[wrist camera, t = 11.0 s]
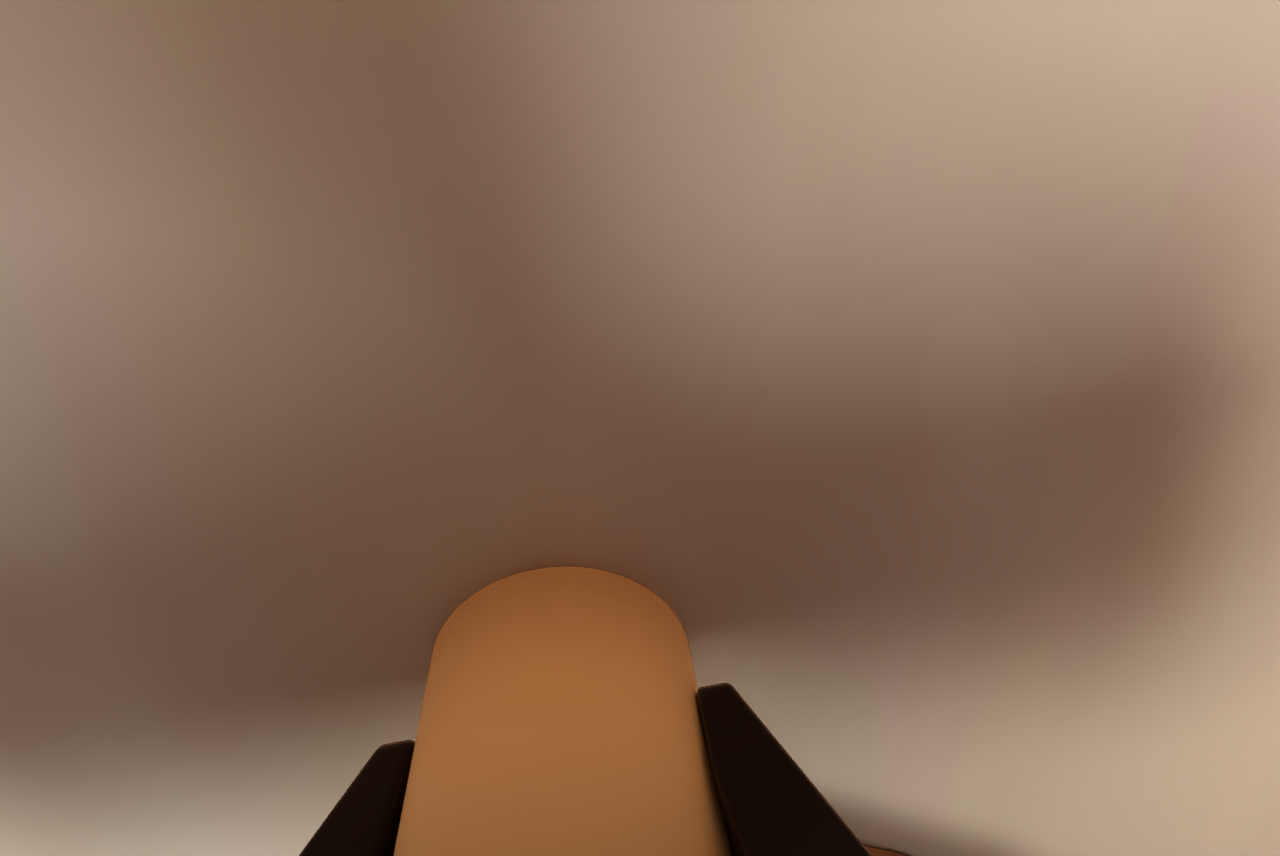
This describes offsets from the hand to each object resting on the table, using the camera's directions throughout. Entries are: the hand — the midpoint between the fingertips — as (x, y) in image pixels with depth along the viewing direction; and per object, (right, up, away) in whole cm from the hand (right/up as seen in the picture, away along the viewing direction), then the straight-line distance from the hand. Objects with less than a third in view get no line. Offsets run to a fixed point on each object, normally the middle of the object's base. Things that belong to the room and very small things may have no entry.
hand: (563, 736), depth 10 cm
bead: (0, +1, +1) cm, 1 cm away
